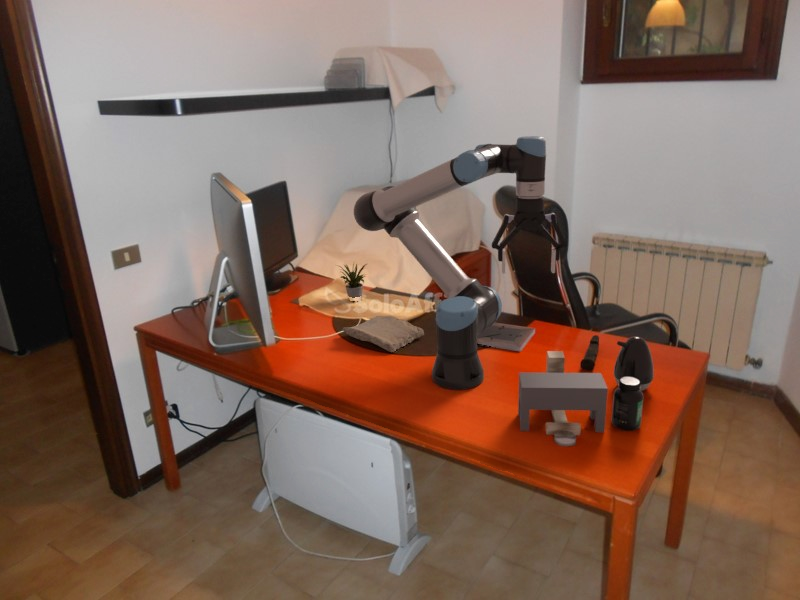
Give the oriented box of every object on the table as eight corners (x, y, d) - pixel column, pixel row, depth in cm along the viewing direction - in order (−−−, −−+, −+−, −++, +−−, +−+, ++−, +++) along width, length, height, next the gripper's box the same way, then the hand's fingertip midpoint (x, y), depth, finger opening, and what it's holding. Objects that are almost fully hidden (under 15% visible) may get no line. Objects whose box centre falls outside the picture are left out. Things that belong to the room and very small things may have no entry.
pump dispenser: (605, 380, 170) (609, 331, 165) (641, 377, 170) (646, 328, 165) (621, 398, 160) (625, 346, 155) (658, 395, 161) (664, 343, 156)
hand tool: (593, 372, 175) (594, 358, 174) (579, 370, 177) (580, 356, 175) (604, 347, 191) (606, 334, 189) (592, 345, 193) (593, 332, 191)
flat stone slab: (385, 360, 192) (427, 335, 204) (382, 339, 189) (424, 315, 201) (337, 343, 208) (379, 321, 221) (334, 324, 206) (376, 303, 218)
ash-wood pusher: (546, 434, 146) (548, 385, 141) (537, 395, 164) (539, 350, 159) (580, 435, 145) (583, 385, 140) (567, 395, 163) (570, 350, 158)
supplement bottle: (645, 430, 145) (650, 386, 141) (618, 432, 145) (622, 388, 141) (632, 415, 152) (636, 373, 148) (606, 418, 151) (610, 375, 147)
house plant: (330, 306, 239) (326, 266, 233) (339, 294, 251) (336, 257, 246) (365, 306, 236) (362, 266, 231) (372, 294, 249) (370, 257, 244)
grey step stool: (520, 430, 148) (521, 387, 144) (518, 414, 155) (519, 372, 151) (604, 432, 145) (607, 388, 141) (597, 415, 153) (600, 373, 149)
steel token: (556, 447, 141) (557, 442, 140) (552, 436, 145) (552, 430, 145) (578, 447, 140) (578, 441, 140) (572, 435, 145) (573, 430, 145)
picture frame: (457, 343, 201) (520, 353, 191) (457, 336, 200) (520, 346, 190) (475, 325, 214) (534, 334, 204) (475, 319, 213) (535, 327, 203)
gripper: (483, 200, 158) (483, 276, 166) (580, 197, 155) (576, 275, 163) (482, 195, 165) (482, 268, 173) (575, 192, 162) (571, 267, 170)
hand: (528, 272), depth 168 cm, fingers open, 13 cm apart
